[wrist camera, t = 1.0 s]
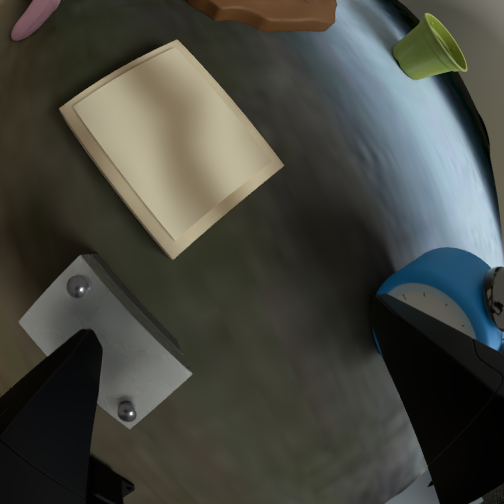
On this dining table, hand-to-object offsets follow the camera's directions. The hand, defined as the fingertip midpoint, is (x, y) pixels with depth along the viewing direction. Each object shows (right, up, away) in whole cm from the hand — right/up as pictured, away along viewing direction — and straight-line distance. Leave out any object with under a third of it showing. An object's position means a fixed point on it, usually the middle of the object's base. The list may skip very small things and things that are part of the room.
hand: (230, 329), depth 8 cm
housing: (-9, -3, +9) cm, 13 cm away
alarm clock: (+15, -4, +19) cm, 24 cm away
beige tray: (-5, +10, +10) cm, 15 cm away
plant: (+1, +34, +13) cm, 36 cm away
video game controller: (-20, +26, +5) cm, 33 cm away
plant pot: (+23, +30, +22) cm, 44 cm away
